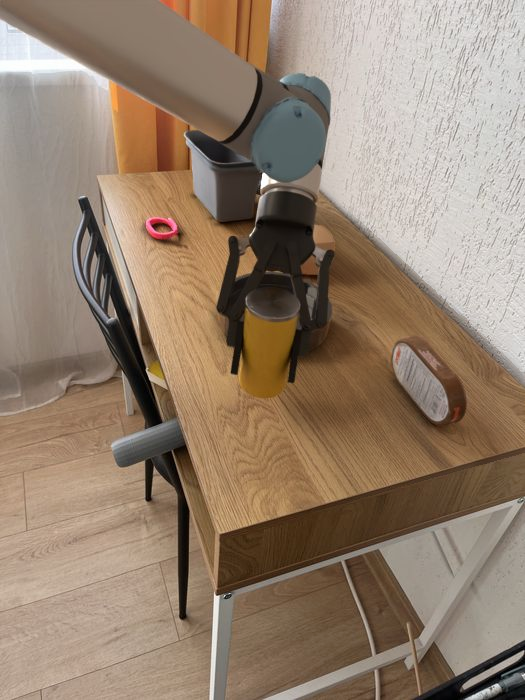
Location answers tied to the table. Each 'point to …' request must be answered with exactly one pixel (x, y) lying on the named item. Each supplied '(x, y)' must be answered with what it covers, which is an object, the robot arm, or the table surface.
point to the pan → (285, 283)
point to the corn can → (267, 341)
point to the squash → (322, 241)
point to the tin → (428, 381)
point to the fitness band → (161, 235)
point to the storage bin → (222, 178)
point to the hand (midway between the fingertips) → (262, 378)
